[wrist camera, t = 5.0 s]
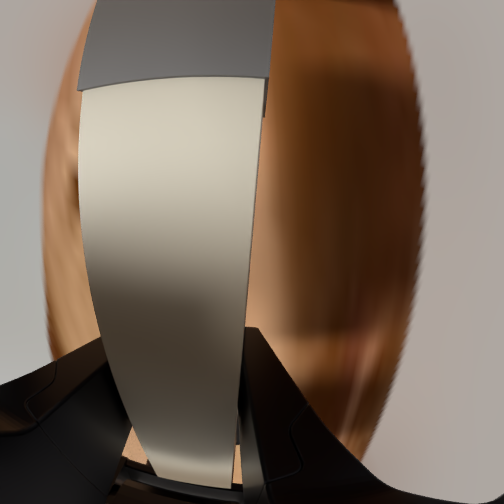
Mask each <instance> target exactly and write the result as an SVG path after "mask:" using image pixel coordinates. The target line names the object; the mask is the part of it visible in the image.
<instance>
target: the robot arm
mask: <svg viewBox="0 0 504 504" xmlns="http://www.w3.org/2000/svg"><path fill="white" fill-rule="evenodd" d="M308 404H309V403H308V401H307V400H306V398H305V397H304V395H303V394H302V393H301V391H300V390H299V388H298V387H297V385H296V384H295V382H294V381H293V380H292V378H291V377H290V375H289V374H288V372H287V371H286V369H285V368H284V366H283V365H282V363H281V362H280V360H279V359H278V357H277V356H276V354H275V353H274V352H273V350H272V349H271V347H270V345H269V344H268V342H267V341H266V339H265V338H264V336H263V335H262V333H261V332H260V330H259V329H258V328H256V327H245V328H244V338H243V349H242V359H241V372H240V384H239V396H238V413H237V424H236V436H235V447H234V458H233V469H232V480H231V489H229V488H219V487H211V486H204V485H197V484H191V483H186V482H180V481H175V480H170V479H166V478H162V477H158V476H157V474H156V472H155V471H154V469H153V467H152V465H151V463H150V461H149V459H148V460H147V463H146V465H145V464H142V463H138V462H135V461H132V460H129V459H128V458H127V457H124V456H122V452H123V449H124V447H125V444H126V441H127V438H128V436H129V433H130V430H131V428H132V424H131V421H130V419H129V417H128V414H127V412H126V409H125V407H124V404H123V402H122V399H121V397H120V394H119V391H118V389H117V386H116V383H115V380H114V377H113V374H112V371H111V368H110V365H109V362H108V359H107V356H106V352H105V349H104V345H103V342H102V338H101V337H99V338H97V339H95V340H93V341H91V342H89V343H87V344H85V345H84V346H82V347H80V348H78V349H76V350H74V351H72V352H70V353H68V354H66V355H64V356H63V357H61V358H59V359H57V361H53V362H51V363H49V364H47V365H46V366H43V367H41V368H39V369H37V370H35V371H33V372H32V373H29V374H26V375H24V376H22V377H19V378H17V379H14V380H12V381H9V382H7V383H4V384H2V385H0V504H467V503H459V502H452V501H446V500H440V499H434V498H430V497H425V496H421V495H416V494H412V493H408V492H404V491H401V490H398V489H395V488H393V487H390V486H389V485H386V484H385V483H383V482H382V481H381V480H379V479H378V478H377V477H376V476H374V475H373V474H372V473H371V472H370V471H369V470H368V469H367V468H366V467H365V466H363V464H362V463H361V462H360V461H359V460H358V459H357V458H356V457H355V456H354V455H353V454H352V453H350V452H349V451H348V450H347V449H346V447H345V446H344V445H343V444H342V443H341V442H340V441H339V440H338V439H337V438H336V437H335V436H334V435H333V434H332V433H331V431H330V430H329V429H328V428H327V427H326V426H325V424H324V423H323V422H322V420H321V419H320V418H319V416H318V415H317V414H316V412H315V411H314V410H313V408H312V407H311V405H308ZM239 444H240V454H241V468H242V482H243V484H237V483H232V482H233V471H234V459H235V448H236V445H239ZM481 504H504V494H502V495H501V496H499V497H498V498H497V499H495V500H494V501H490V502H487V503H481Z"/></svg>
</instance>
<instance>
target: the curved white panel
mask: <svg viewBox="0 0 504 504" xmlns="http://www.w3.org/2000/svg"><path fill="white" fill-rule="evenodd" d="M274 11H275V0H97V3H96V6H95V9H94V13H93V16H92V20H91V23H90V27H89V31H88V35H87V39H86V43H85V47H84V52H83V57H82V62H81V67H80V73H79V79H78V86H77V91H81V92H83V96H82V105H81V116H80V130H79V154H78V179H79V204H80V218H81V230H82V239H83V247H84V255H85V262H86V268H87V274H88V280H89V286H90V291H91V296H92V301H93V306H94V310H95V314H96V319H97V323H98V327H99V331H100V334H101V338H102V342H103V345H104V349H105V352H106V356H107V359H108V362H109V365H110V368H111V371H112V374H113V377H114V380H115V383H116V386H117V389H118V391H119V394H120V397H121V399H122V402H123V404H124V407H125V409H126V412H127V414H128V417H129V419H130V421H131V424H132V426H133V428H134V431H135V433H136V435H137V437H138V439H139V441H140V443H141V446H142V448H143V450H144V452H145V454H146V456H147V458H148V459H149V461H150V463H151V465H152V467H153V469H154V471H155V472H156V474H157V476H158V477H162V478H166V479H170V480H175V481H180V482H186V483H191V484H197V485H204V486H211V487H219V488H229V489H231V480H232V469H233V458H234V447H235V436H236V424H237V413H238V396H239V384H240V372H241V359H242V349H243V338H244V328H245V319H246V307H247V295H248V284H249V272H250V260H251V248H252V237H253V225H254V213H255V202H256V190H257V178H258V167H259V155H260V143H261V132H262V120H263V117H264V118H265V110H266V100H267V91H268V81H269V70H270V59H271V47H272V35H273V23H274Z"/></svg>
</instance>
